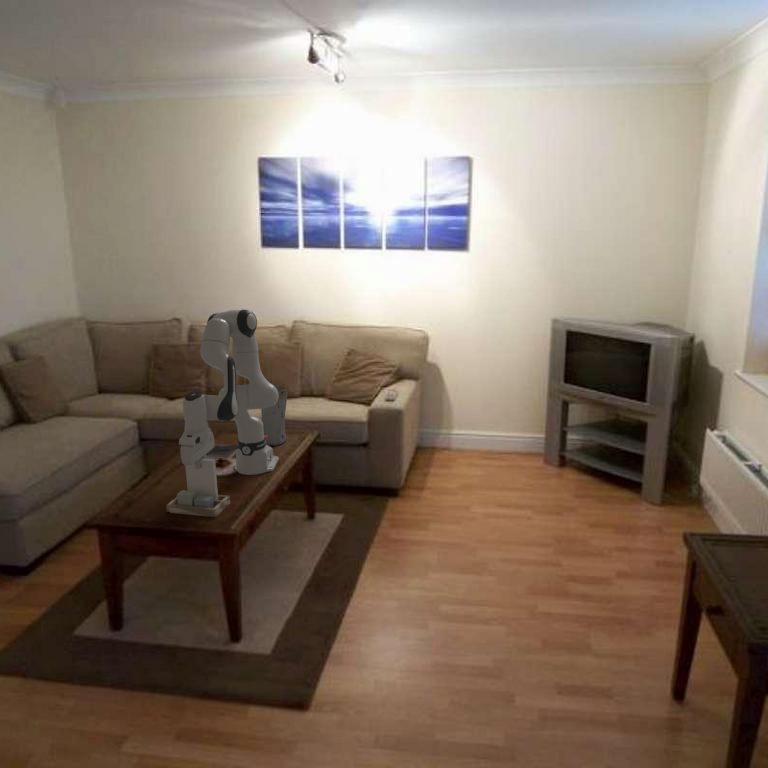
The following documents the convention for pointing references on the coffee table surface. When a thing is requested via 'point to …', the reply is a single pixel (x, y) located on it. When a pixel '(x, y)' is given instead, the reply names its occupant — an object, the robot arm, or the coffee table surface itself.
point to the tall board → (203, 478)
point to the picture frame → (222, 451)
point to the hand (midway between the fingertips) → (200, 467)
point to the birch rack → (200, 511)
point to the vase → (275, 419)
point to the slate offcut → (204, 501)
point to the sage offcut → (186, 498)
